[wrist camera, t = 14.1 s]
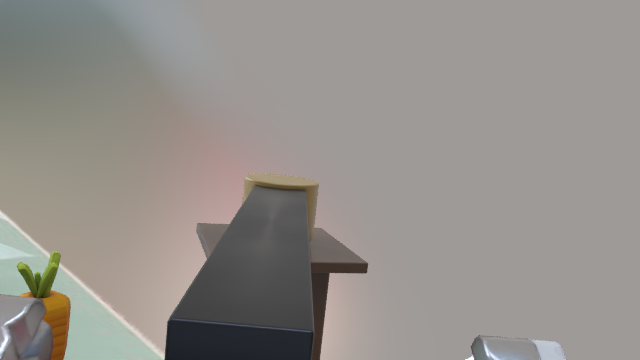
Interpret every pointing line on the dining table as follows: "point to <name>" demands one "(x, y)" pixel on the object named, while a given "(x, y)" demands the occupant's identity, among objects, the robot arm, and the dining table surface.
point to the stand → (323, 260)
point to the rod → (254, 281)
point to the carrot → (50, 302)
